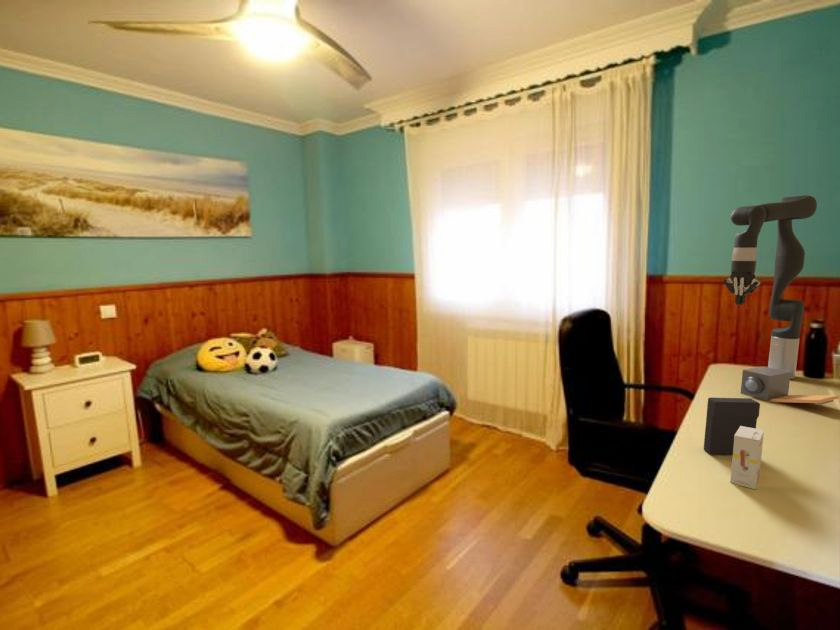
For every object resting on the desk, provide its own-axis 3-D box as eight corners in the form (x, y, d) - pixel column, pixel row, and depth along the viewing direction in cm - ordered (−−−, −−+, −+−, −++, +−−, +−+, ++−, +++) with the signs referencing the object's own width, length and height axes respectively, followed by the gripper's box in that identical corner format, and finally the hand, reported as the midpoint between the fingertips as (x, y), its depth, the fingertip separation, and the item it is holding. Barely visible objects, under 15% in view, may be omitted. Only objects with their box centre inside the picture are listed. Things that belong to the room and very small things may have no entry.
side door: (788, 395, 157) (838, 395, 144) (789, 400, 157) (839, 400, 144) (769, 399, 153) (819, 399, 140) (770, 404, 153) (820, 405, 140)
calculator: (744, 450, 118) (749, 397, 116) (754, 457, 114) (760, 402, 112) (701, 448, 119) (706, 396, 117) (710, 455, 115) (715, 401, 113)
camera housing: (760, 391, 166) (763, 366, 165) (787, 398, 158) (790, 372, 157) (736, 396, 161) (739, 370, 160) (763, 404, 153) (766, 376, 151)
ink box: (735, 469, 108) (739, 424, 106) (760, 476, 104) (765, 429, 103) (728, 482, 102) (733, 434, 100) (755, 490, 98) (760, 441, 97)
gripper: (769, 259, 160) (764, 306, 163) (732, 259, 173) (728, 302, 175) (756, 260, 158) (751, 307, 160) (719, 259, 170) (715, 303, 172)
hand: (739, 304), depth 168 cm, fingers closed
